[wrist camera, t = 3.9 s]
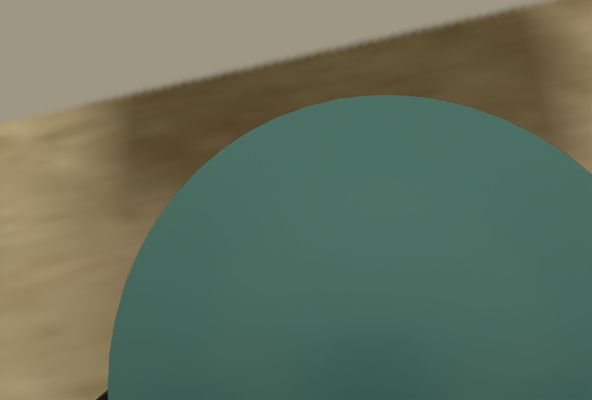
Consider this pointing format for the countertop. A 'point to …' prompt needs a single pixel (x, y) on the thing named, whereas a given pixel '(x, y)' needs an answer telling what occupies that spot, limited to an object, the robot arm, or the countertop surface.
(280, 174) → the marker
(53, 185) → the countertop surface
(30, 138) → the countertop surface
